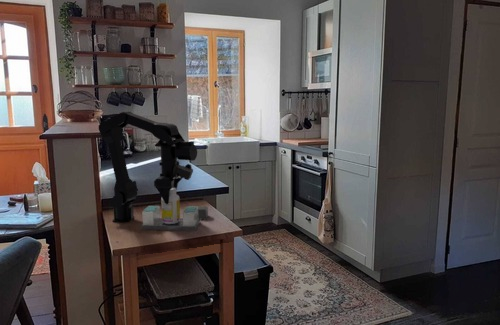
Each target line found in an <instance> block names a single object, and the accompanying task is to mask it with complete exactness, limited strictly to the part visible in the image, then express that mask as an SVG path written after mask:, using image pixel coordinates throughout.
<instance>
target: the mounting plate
mask: <svg viewBox="0 0 500 325" xmlns="http://www.w3.org/2000/svg"><path fill="white" fill-rule="evenodd" d="M198 207H199V206H198ZM198 207H195V206H186V207H185V209H184V210H183V212H182V217H180V221H179V222H178V223H175V224H165V223H163V222H162V217H161V206H160V205H148V206H147V207H146V208H144V209H143V210H142V211H141V213H142V224H141V227H140V229H141V230H144V231H145V230H153V231H157V230H158V231H187V232H188V231H193V232H195V231H196V230H197V229H198V226H199V225H200V223H201V219H198Z"/></svg>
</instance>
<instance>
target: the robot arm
mask: <svg viewBox="0 0 500 325" xmlns="http://www.w3.org/2000/svg"><path fill="white" fill-rule="evenodd" d="M128 125H130V126H133V127H134V128H137V129H140V130H142V131H146V132H148V133H150V134H151V135H152V136H153V137H154V138H156V139H158V142H156V144H154V147H157V148H158V147H159V148H160V162H159V166H160V167H161V168H160V170H161V172H160V173H159V176H158V177H157V178H156V179H154V181H153V187H154V188H155V189H156V190H157V192H158V193H159V195H160V196H161V198H163V200H164V202H165V204H168V203H169V197H170V190H171V189H172V188H176V189H177V190H178V185H179V182H180V181H181V180H182V179H184V180H186V181H189V180H190V179H191V178H192V174H193V173H194V168H192V164H189V163H187V164H186V165H180V161H192V162H193V161H195V160H196V159H197V156H198V150H197V147H196V145H195V142H194V140H193V141H191V140H189V141H185V139H184V138H183V136H182V134H181V133H180V132H179V128H178V126H177V125H175V124H173V123H168V122H159V121H155V120H152V119H150V118H147V117H143V116H141V115H138V114H135V113H133V112H131V111H121V112H120V113H118V114H117V115H114V116H112V117H110V118H108V119H106V120H105V119H104V120H102V121H101V122H100V123H99V124H98V131H99V133H100V136H101V138H102V140H103V141H104V142H105V143H106V145H107V147H108V151H109V156H110V160H111V165H112V168H113V173H114V177H115V178H114V179H115V183H114V187H113V191H114V195H113V197H112V198H111V199H110V200H109V201H108V202H109V203H108V204H109V206H110V207H111V208H113V219H112V222H115V223H128V222H130V221H131V220H132V219H133V218H134V217H135V215H134V207H133V206H132V205H133V203H135V200H136V197H137V196H138V191H139V189H138V186H137V182H136V180H134V181H133V180H132V179H131V177H130V176H129V171H128V167H127V164H126V158H125V155H124V150H123V145H122V139H123V135H124V131H123V129H125V128H126V127H127V126H128ZM179 160H180V161H179Z"/></svg>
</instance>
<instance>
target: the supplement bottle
mask: <svg viewBox="0 0 500 325" xmlns="http://www.w3.org/2000/svg"><path fill="white" fill-rule="evenodd" d="M177 190H178V188H177V189H176V188H172V189H171V190H170V197H169V203H168V204H165V202H164V200H163V198H162V197H161V199H160V201H161V202H160V203H161V218H162V222H163V223H165V224H175V223H178V222H179V221H180V218H181V212H180V211H181V209H180V208H181V204H180V202H181V198H180V196H179V194H177Z"/></svg>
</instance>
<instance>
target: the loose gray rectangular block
mask: <svg viewBox="0 0 500 325" xmlns="http://www.w3.org/2000/svg"><path fill="white" fill-rule="evenodd" d="M194 207H198V219H200V220H207V218H208V216H209V215H208V214H209V206H194Z"/></svg>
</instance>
